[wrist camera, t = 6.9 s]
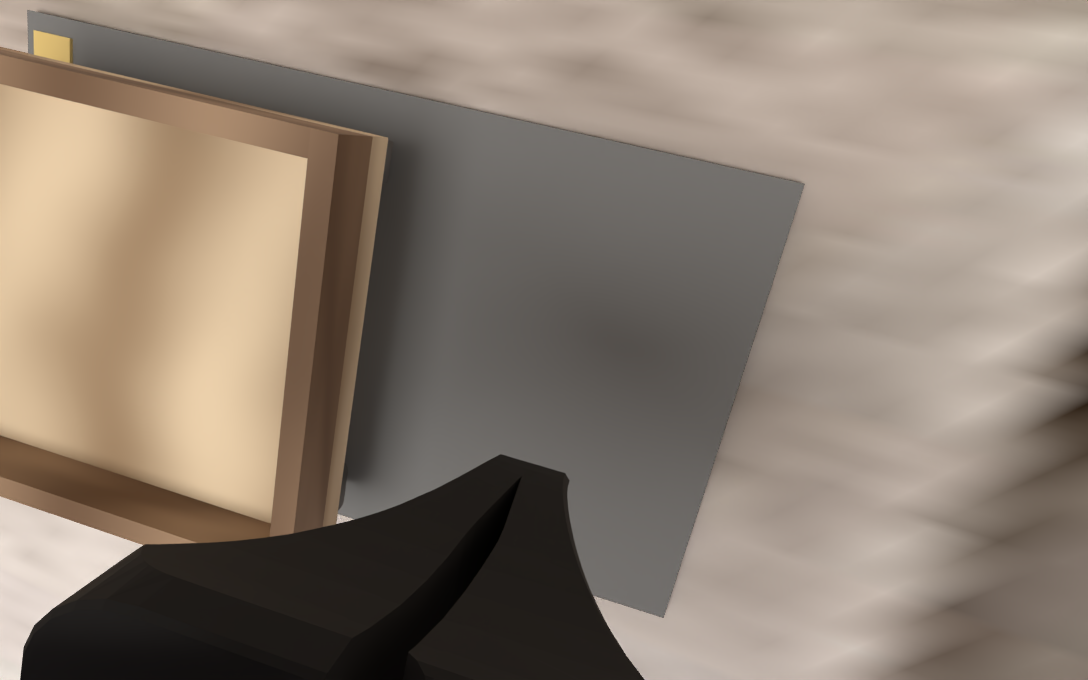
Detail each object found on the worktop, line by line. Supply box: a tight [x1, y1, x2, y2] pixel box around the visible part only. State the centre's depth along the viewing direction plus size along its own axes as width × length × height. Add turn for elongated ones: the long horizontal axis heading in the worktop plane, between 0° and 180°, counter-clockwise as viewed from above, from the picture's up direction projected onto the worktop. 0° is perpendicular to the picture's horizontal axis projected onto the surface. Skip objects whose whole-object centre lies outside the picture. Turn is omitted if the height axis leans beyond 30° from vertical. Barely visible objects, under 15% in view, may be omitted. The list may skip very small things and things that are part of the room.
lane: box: [27, 10, 804, 618], centre depth 20 cm, size 22×13×1 cm, turn 78°
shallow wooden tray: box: [0, 47, 393, 545], centre depth 18 cm, size 11×11×5 cm
